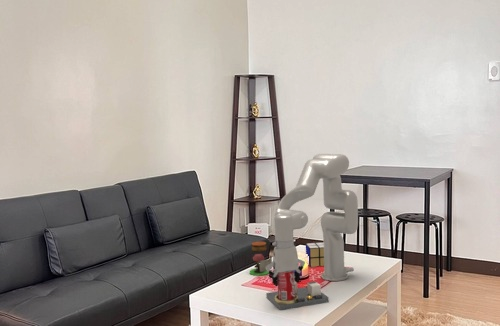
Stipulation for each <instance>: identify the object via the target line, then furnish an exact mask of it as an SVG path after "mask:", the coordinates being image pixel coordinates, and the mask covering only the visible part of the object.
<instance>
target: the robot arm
mask: <svg viewBox="0 0 500 326" xmlns="http://www.w3.org/2000/svg"><path fill="white" fill-rule="evenodd" d="M349 167H350V161H349V158H348V157H347V156H346V155H345V154H337V153H317V154H315V155H313V157H312V158H311V159H307V161H306V162H305V163H304V165H303V168H302V171H301V173H300V175H299V177H298V179H297V180H298V181H297V183H296V186H295V187H294V188H293V189H292V188H291V190H289V191H288V192H287V193H286V194H285V195H284V196H283V197H282V198H281V200H279V203H278V206H277V208H276V210H275V215H274V219H273V220H274V222H273V223H274V237H275V238H274V242H272V246H274V248H273V252H272V253H273V254H272V263H270V264H269V265H267V266H266V270H267V271H268V273H269V274H268V275H270V276H271V280H272V285H274V286H275V287H278V282H277V274H278V273H282V272H289V271H293V272H294V280H295V282H296V283H297V284H298V283H300V279H301V274H300V273H301V272H302V270H303V269H304V267H305V264H306V261H304V260H302V259H300V258H299V256H298V251H297V247H296V245H295V243H294V230H301V229H303V228H305V227H306V226H307V224H308V222H309V216H308V214H307V213H306V212H304V211H303V210H296V209H291V207H292V206H294V205H295V204H296V203H299V202H301V201H303V200H306V199H309V198H311V197H313V196H314V195H315V193H316V190H317V188H318V185H319V182H320V180H321V179H322V184H323V186H322V187H323V188H322V189H323V205H324V207H325V208H326V209H330V210H335V211H326V212H324V213H323V214H322V215H321V217H320V226H321V231H322V237H323V242H324V266H323V272H322V273H321V275H320V277H321V279H322V280H325V281H328V280H329V282H330V281H331V282H340V281H345V280H347V279H348V278H349V274H348V273H352V272H354V271H355V268H354V267H349V266H345V242H344V238H343V235H344V234H345V235H353V234H355V233H356V232H357V230H358V227H359V208H358V207H359V203H358V202H359V201H358V197H357V194H356V192H354V191H353V190H350V189H349V190H348V189H343V186H342V178H341V176H342V175H343V174H345V173H346V172H347V171H348V169H349ZM337 210H338V212H337ZM339 211H343V212H339ZM342 234H343V235H342ZM299 263H300V264H299ZM271 267H272V269H273V270H272V269H270V268H271Z"/></svg>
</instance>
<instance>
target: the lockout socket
mask: <svg viewBox="0 0 500 326" xmlns="http://www.w3.org/2000/svg"><path fill="white" fill-rule="evenodd" d="M277 298H278V295H276V296H275V301H276V302H277V303H281V304H291V303H295V302H297V299H298V296H297V295H296V294H295V299H293V300H289V301H283V300H279V299H277Z"/></svg>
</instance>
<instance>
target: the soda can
mask: <svg viewBox="0 0 500 326" xmlns="http://www.w3.org/2000/svg"><path fill="white" fill-rule="evenodd" d="M294 272H295V271H289V272H282V273H278V274H277V275H276V277H277V283H278V286H277V291H278V299H279V300H283V301H289V300H293V299H295V282H296V281H295V275H294Z"/></svg>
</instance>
